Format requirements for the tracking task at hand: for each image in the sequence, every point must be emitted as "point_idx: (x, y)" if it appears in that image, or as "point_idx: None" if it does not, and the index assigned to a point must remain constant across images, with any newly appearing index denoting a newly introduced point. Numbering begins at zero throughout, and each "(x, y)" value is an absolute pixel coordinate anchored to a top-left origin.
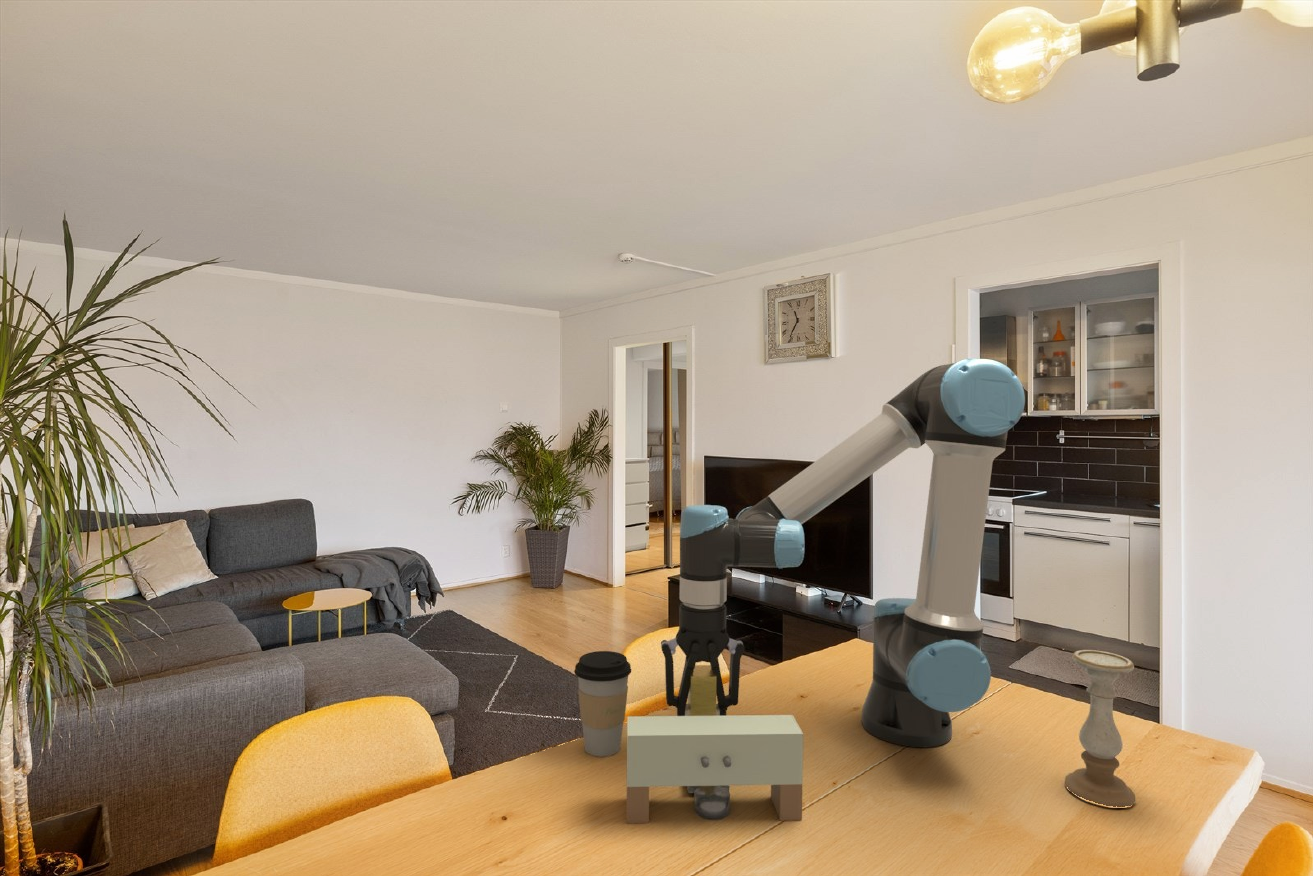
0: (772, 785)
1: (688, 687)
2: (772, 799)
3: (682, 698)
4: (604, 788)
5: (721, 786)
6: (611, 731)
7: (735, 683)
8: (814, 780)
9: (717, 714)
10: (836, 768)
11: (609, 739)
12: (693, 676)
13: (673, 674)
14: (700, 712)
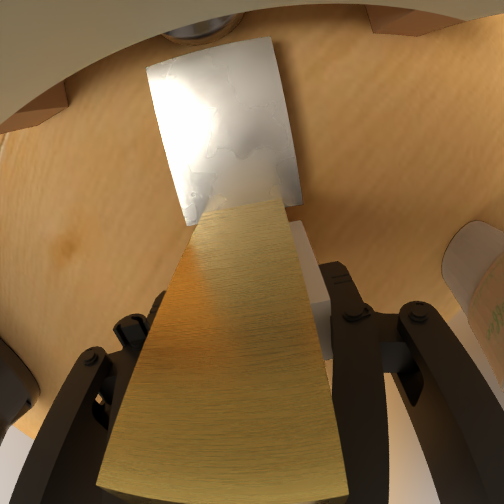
0: (44, 94)
1: (341, 412)
2: (63, 91)
3: (363, 345)
4: (464, 86)
5: (163, 33)
6: (496, 249)
7: (52, 427)
8: (16, 204)
9: None
10: (4, 255)
11: (487, 239)
12: (320, 502)
13: (473, 457)
14: (246, 286)
